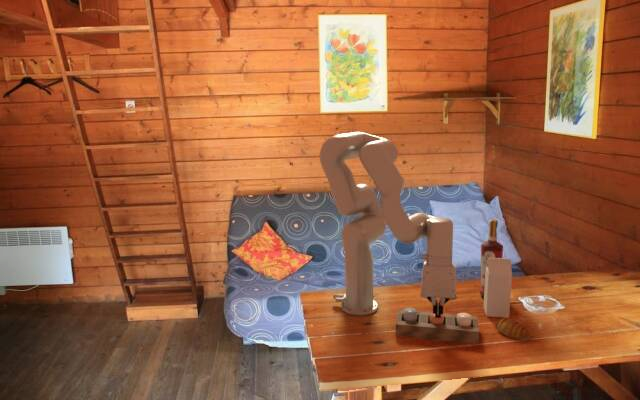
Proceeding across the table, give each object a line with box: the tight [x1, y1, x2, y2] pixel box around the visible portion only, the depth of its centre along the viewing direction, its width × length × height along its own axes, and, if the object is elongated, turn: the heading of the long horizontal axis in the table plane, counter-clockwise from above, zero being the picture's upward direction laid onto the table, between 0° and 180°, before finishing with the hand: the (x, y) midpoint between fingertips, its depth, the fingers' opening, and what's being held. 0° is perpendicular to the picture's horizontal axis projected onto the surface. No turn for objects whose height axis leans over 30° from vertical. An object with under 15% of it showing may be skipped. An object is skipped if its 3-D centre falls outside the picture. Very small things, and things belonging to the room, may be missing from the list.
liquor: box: [479, 219, 504, 297], centre depth 168 cm, size 7×7×28 cm
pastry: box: [496, 317, 532, 341], centre depth 145 cm, size 9×7×4 cm
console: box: [395, 309, 480, 345], centre depth 147 cm, size 24×10×4 cm, turn 76°
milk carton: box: [483, 257, 513, 319], centre depth 157 cm, size 7×7×19 cm
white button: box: [456, 312, 473, 327], centre depth 145 cm, size 4×4×4 cm
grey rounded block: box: [403, 307, 418, 322], centre depth 149 cm, size 4×4×4 cm
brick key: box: [430, 313, 444, 325], centre depth 147 cm, size 4×4×4 cm
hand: (437, 315), depth 146 cm, fingers closed
